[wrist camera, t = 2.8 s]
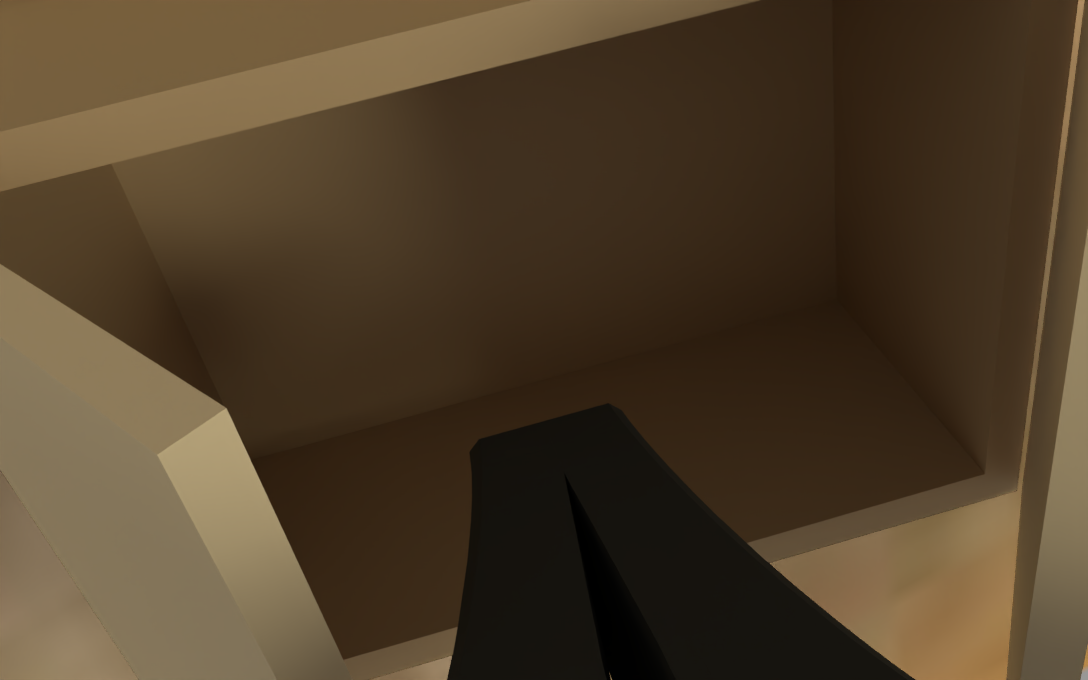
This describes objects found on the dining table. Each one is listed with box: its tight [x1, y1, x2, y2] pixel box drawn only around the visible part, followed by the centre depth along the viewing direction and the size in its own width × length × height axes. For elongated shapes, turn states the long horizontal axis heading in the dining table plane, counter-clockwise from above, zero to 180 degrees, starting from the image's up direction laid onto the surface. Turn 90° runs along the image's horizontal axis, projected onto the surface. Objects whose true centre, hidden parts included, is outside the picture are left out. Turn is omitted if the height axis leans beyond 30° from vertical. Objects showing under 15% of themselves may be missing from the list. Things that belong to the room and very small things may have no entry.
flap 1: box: [0, 264, 352, 680], centre depth 9 cm, size 6×8×1 cm
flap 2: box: [1006, 0, 1088, 680], centre depth 10 cm, size 6×8×1 cm
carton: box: [0, 0, 1078, 680], centre depth 13 cm, size 11×8×5 cm
